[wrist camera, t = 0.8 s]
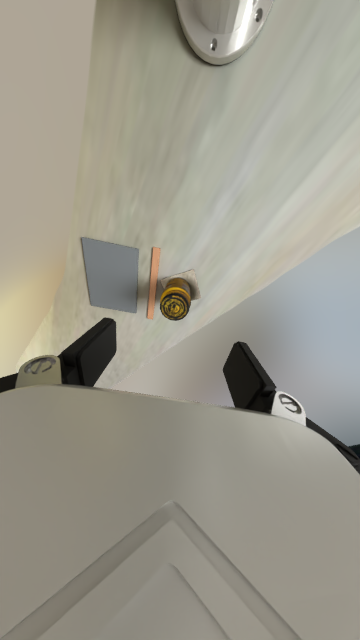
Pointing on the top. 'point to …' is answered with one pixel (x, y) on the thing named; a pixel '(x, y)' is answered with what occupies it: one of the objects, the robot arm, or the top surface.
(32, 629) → the robot arm
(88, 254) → the mat
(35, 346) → the top surface
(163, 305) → the condiment
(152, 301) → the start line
